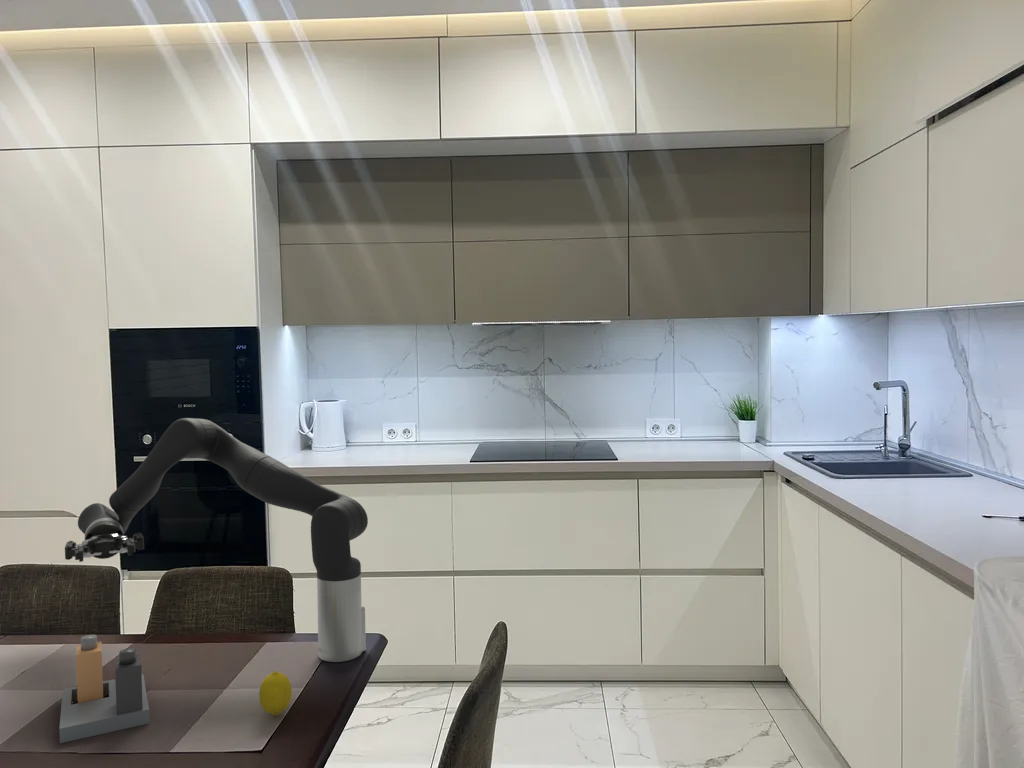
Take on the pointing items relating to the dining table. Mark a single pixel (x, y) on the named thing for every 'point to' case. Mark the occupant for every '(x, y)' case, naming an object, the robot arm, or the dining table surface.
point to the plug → (89, 669)
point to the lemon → (275, 693)
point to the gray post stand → (108, 703)
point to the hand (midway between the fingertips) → (105, 553)
